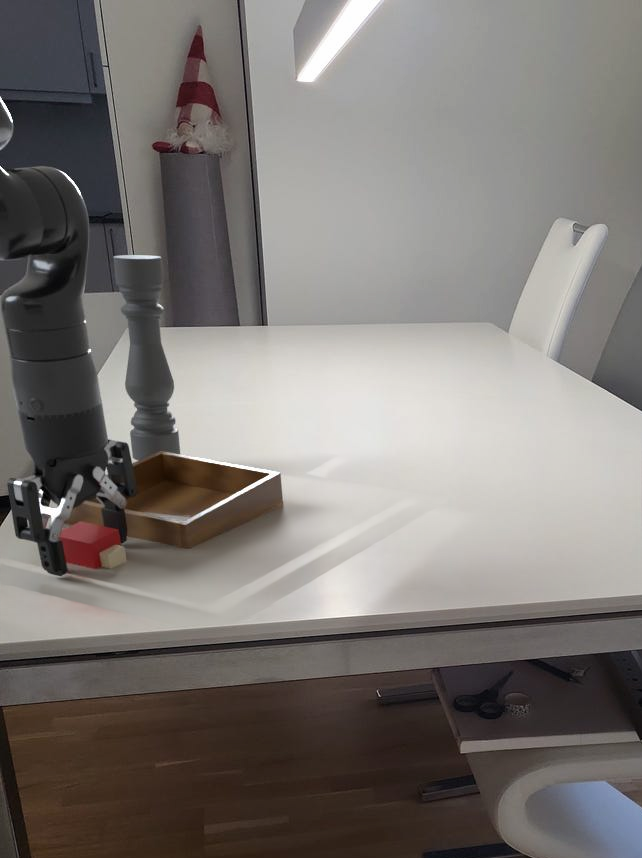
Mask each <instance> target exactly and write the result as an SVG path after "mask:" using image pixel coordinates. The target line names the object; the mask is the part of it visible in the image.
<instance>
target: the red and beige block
mask: <svg viewBox="0 0 642 858" xmlns="http://www.w3.org/2000/svg"><path fill="white" fill-rule="evenodd" d="M59 539H60V540H62V543H63V549H64V554H65V559H66V564H70V565H75V566H79V567H84V568H88V569H93V570H97V569H99V568H101V567H102V568H105V569H109V570H110V569H114V568H115V567H117V566H120V565H122V564H125V563H127V562H128V559H127V555H126V554H127V553H126V549H125V546H124V545H122V544H121V541H120V535H119V530H118V529H114V528H109V527H104V526H100V525H95V524H91V523H86V522H82V521H80V522H78V523H76V524H74V525H70V526H68V527H65V528H64V529H63V528H62V531H61V534H60V537H59Z"/></svg>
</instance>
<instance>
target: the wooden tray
mask: <svg viewBox="0 0 642 858" xmlns="http://www.w3.org/2000/svg"><path fill="white" fill-rule="evenodd" d="M132 465H133V470H134V475H135V480H136V485H137V490H138V491H137V495H136V496H135V497H130V498H129V499H128V500H127V504H126V507H125V508H124V511H125V517H126V523H127V524H126V525H127V529H128V531H127V535H126V536H127V538H128V537H129V538H133V539H138V540H144V541H148V542H152V543H157V544H161V545H167V546H172V547H178V548H182V549H187V550H189V549H192V548H194V547H196V546H199V545H201V544H203V543H205V542H208V541H209V540H211V539H213V538H214V539H215V537H219V536H220V535H222V534H225V533H227V532H229V531H232V530H233V529H235V528H238V527H240V526H242V525H243V524H247V523H248V522H251V521H253V520H255V519H257V518H259V517H262V516H263V515H266V514H268V513H270V512H273V511H275V510H276V509H279V508H281V507H283V506H284V498H283V487H282V474H281V472H277V471H274V470H273V471H272V470H267V469H263V468H262V469H261V468H255V467H251V466H245V465H239V464H236V463H235V464H234V463H229V462H223V461H218V460H212V459H207V458H201V457H197V456H190V455H185V454H181V453H180V454H175V453H169V452H164V451H159V452H157V453H155V454H152V455H150V456H148V457H146V458H143V459H141V460H139V461H138V460H136V461H134V462H132ZM105 475H106V476H107V477H108V478H109V476H108V474H105ZM121 481H122V483H123V484H124V480H123V477H122V476H121ZM56 506H57V507H56V508H58V507H59V505H57V504H56ZM103 507H105V505H102V504H101V503H100V502H99V501H98V500H97V499H96V498H95V499H92V500H87V501H84V502H83V503H82V504H81V505H80V506H77V507H75V508H73V509H72V512H71V516H70V518H69V519H68V520H67V521H65V522H64V524H63V525H68V526H69V525H70V526H72V525H74V524H76V523H78V522H80V521H82V522H86V523H91V524H95V525H100V526H104V523H103V517H102V511H101V508H103ZM157 514H158V515H157ZM160 515H166V516H177V517H185V518H187V519H186V520H184V521H183V520H179V519H176V518H175V519H174V518H171V517H170V518H169V517H165V516H160Z"/></svg>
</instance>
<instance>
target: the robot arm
mask: <svg viewBox="0 0 642 858" xmlns="http://www.w3.org/2000/svg"><path fill="white" fill-rule="evenodd" d="M13 135H14V123H13V119H12V116H11V113H10V112H9V110H8V108H7V106H6V104H5V103H4V101H3V100H2V98H1V97H0V151H2V150H3V149H5V147H6V146H7V145H8V144H9V142H10V141H11V139H12V137H13ZM89 219H90V218H89V214H88V210H87V206H86V203H85V200H84V198H83V196H82V194H81V191H80V190H79V188H78V186H77V185H76V184H75V182H74V181H73V180H72V179H71V177H70V176H68V175H67V174H66V173H65V172H63V171H61V170H60V169H58V168H56V167H52V166H44V165H39V166H29V167H18V168H7V169H3V168H2V167H1V166H0V261H17V260H22V259H27V265H26V272H25V275H24V276H23V277H22V279H20V280H19V281H18V282H17V283H15V284H13V285H12V286H9V287H8V288H7V289H5V290H4V291H3V292H2V293H1V296H0V314H1V315H0V316H1V320H2V325H3V330H4V337H5V340H6V346H7V349H8V351H7V352H8V354H9V361H10V363H9V364H10V377H11V378H10V379H11V385H12V391H13V394H14V400H15V404H16V409H17V414H18V419H19V425H20V429H21V433H22V439H23V444H24V448H25V450H26V452H27V453H28V455H29V456H30V458H31V459H32V462H33V471H32V475H29V476H25V477H23V478H17V477H10V478H9V479H8V480H7V485H6V486H7V491H8V492H7V493H8V499H9V503H10V510H11V517H12V522H13V529H14V535H15V537H16V538H17V539H20V540H25V541H28V542H33V543H36V544H37V548H38V549H37V550H38V553H39V559H40V563H41V568H42V569H43V570H44V571H46V572H47V574H49V575H53V576H56V577H57V576H58V577H62V576H65V575H66V574H68V572H69V571H68V570H69V569H68V563H66V559H65V554H64V549H63V543H62V540H60V539H59V537H60V534H61V531H62V530H63V527H64V525H65V524H64V522H65V521H67V520H68V519H69V518H70V516H71V512H72V509H73V508H75V507H77V506H80V505H81V504H82V503H83V502H84V501H87V500H92V499H95V498H96V499H97V500H98V501H99V502H100V503H101V504H102V505H105V507H103V508H101V511H102V517H103V523H104V527H109V528H114V529H118V530H119V535H120V541H121V545H122V544H124V543H126V542H127V541H128V536H126V535H127V531H128V529H127V525H126V524H127V523H126V517H125V511H124V508H125V507H126V504H127V500H128V499H129V498H130V497H135V496H136V495H137V491H138V490H137V485H136V480H135V475H134V470H133V465H132V463H133V461H132V456H131V455H132V454H131V451H130V446H129V443H127V442H125V441H119V440H114V439H109V437H108V431H107V425H106V418H105V413H104V407H103V400H102V395H101V389H100V382H99V377H98V376H99V375H98V372H97V368H96V364H95V362H94V359H93V355H92V350H91V345H90V341H89V340H90V338H89V333H88V326H87V321H86V314H85V310H84V297H85V291H86V290H85V288H86V284H87V283H86V282H87V270H88V257H89V246H90V220H89ZM106 470H107V474H106ZM106 475H108V476H109V478H108V477H107V476H106ZM121 476H122V477H123V480H124V484H123V483H122V481H121ZM51 502H52V503H54V504H55V505H56V506H57V505H59V507H56V508H55V507H50V504H51ZM50 518H51V519H50ZM49 519H50V522H49ZM48 522H49V526H48V527H47V525H48Z"/></svg>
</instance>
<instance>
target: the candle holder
mask: <svg viewBox="0 0 642 858" xmlns="http://www.w3.org/2000/svg"><path fill="white" fill-rule="evenodd" d="M112 258H113V267H114V277H115V284H116V285H117V286H118V291H119V293H120V295H122V298H123V300H125V303H124V304H123V305H122V306H121V307H120V313H121V314H122V315H124V316H125V319H126V320H127V327H128V337H129V350H128V357H127V365H126V374H125V380H124V386H125V391H126V393H127V395H128V397H129V398H130V400H132V401H133V402H134V403H133V407H134V408H135V409H136V411H135V412H134V413H133V416H132V417H131V419H130V425H131V426H132V427H133V428H132V429H130V432H129V436H130V437H129V438H130V445H131V455H132V456H131V457H132V459H133V460H135V461H139V460H141V459H143V458H146V457H148V456H150V455H152V454H155V453H157V452H159V451H164V452H169V453H175V454H180V455H181V447H180V433H179V429H178V428H177V427H175V426H174V425H176V420H177V419H176V417H175V416H174V415H172V412H171V411H170V410H169V409H168V408H169V406H170V402H169V401H170V400H171V398H173V397H172V396H173V394H174V390H175V381H174V378H173V375H172V372H171V369H170V368H171V367H170V365H169V362H168V359H167V356H166V353H165V350H164V347H163V343H162V336H161V325H160V319H161V316H163V315H164V311H165V309H164V307H163V306H162V304H159V303H158V300H159V299H160V294H161V293H162V286H163V285H164V276H163V264H162V257H161V256H159V255H147V254H122V255H121V254H119V255H113V257H112Z"/></svg>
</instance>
